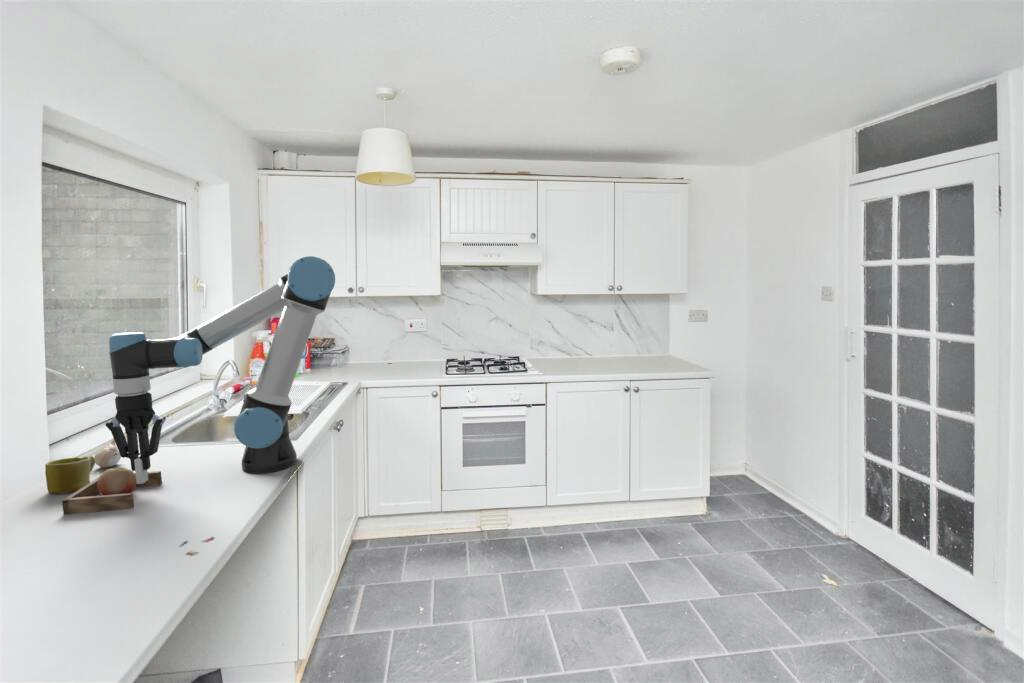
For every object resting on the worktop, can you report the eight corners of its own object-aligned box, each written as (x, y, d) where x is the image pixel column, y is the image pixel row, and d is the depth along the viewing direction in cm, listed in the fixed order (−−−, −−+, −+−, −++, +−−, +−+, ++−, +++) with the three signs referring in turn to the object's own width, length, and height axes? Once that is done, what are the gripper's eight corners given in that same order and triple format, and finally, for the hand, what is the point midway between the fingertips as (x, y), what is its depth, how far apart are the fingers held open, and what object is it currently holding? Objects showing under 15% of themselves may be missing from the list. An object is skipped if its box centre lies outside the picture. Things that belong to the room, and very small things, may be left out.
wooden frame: (162, 483, 141) (160, 471, 141) (131, 508, 125) (130, 494, 125) (102, 487, 138) (101, 475, 138) (63, 514, 122) (61, 500, 122)
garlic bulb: (125, 465, 156) (123, 439, 155) (100, 471, 150) (97, 445, 149) (116, 461, 159) (114, 436, 158) (91, 467, 154) (88, 442, 153)
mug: (65, 492, 131) (60, 454, 132) (36, 501, 133) (32, 463, 134) (113, 483, 142) (108, 448, 144) (86, 492, 145) (81, 457, 146)
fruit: (145, 493, 134) (142, 464, 133) (112, 506, 127) (109, 475, 126) (125, 489, 137) (122, 460, 136) (91, 501, 130) (88, 471, 129)
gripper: (168, 388, 135) (176, 474, 138) (112, 391, 132) (122, 478, 135) (154, 394, 128) (163, 484, 130) (95, 397, 125) (105, 490, 128)
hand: (142, 481), depth 133 cm, fingers closed
